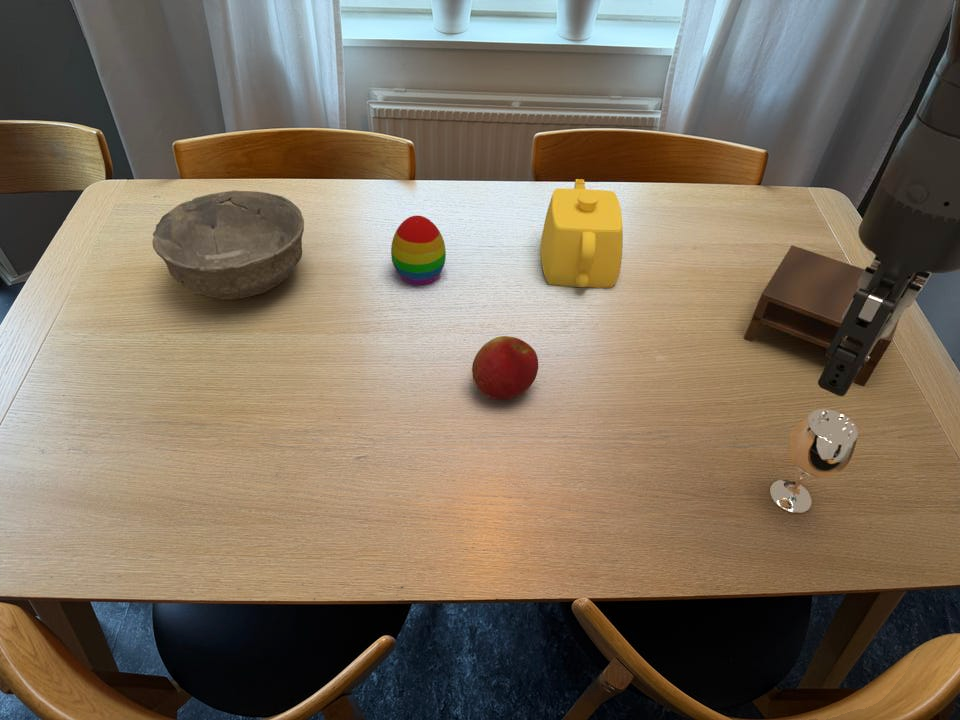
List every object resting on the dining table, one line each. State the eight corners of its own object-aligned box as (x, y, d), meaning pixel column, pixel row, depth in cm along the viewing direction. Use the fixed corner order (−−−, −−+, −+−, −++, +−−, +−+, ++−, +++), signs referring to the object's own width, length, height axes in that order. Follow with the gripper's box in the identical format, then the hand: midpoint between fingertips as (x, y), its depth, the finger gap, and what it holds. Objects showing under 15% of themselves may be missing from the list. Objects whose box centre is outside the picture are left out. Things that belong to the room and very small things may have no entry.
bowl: (343, 274, 101) (334, 218, 94) (235, 346, 89) (216, 288, 82) (253, 228, 110) (239, 174, 103) (143, 289, 98) (119, 231, 91)
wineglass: (795, 469, 76) (836, 399, 68) (829, 510, 72) (877, 441, 64) (753, 482, 75) (789, 412, 66) (785, 524, 71) (828, 455, 62)
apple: (527, 418, 81) (532, 372, 75) (464, 404, 82) (465, 357, 77) (540, 375, 86) (546, 330, 81) (481, 363, 88) (482, 317, 82)
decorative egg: (391, 290, 99) (386, 233, 92) (394, 258, 104) (389, 203, 98) (446, 290, 99) (444, 233, 92) (446, 258, 105) (445, 203, 98)
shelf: (885, 329, 94) (911, 284, 89) (863, 386, 86) (891, 341, 80) (773, 288, 101) (791, 244, 95) (743, 338, 92) (761, 293, 87)
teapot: (538, 223, 113) (545, 159, 104) (611, 227, 112) (623, 163, 104) (540, 296, 98) (547, 228, 90) (623, 300, 98) (637, 233, 90)
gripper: (978, 248, 40) (867, 432, 50) (1023, 173, 48) (919, 345, 58) (851, 206, 43) (772, 385, 54) (913, 143, 51) (834, 309, 62)
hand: (848, 364), depth 56 cm, fingers open, 8 cm apart
